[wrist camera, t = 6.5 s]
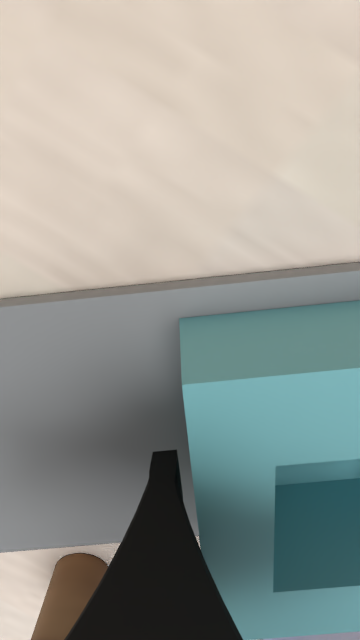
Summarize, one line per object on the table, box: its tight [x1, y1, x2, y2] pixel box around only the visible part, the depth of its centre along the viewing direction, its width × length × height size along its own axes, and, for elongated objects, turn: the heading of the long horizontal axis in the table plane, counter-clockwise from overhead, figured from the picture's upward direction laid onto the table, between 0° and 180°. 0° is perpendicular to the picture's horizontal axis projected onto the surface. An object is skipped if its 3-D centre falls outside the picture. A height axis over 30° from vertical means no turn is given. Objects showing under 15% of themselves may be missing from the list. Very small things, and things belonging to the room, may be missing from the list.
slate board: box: [0, 262, 360, 553], centre depth 12 cm, size 12×24×1 cm, turn 96°
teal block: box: [179, 300, 360, 640], centre depth 10 cm, size 10×9×4 cm
